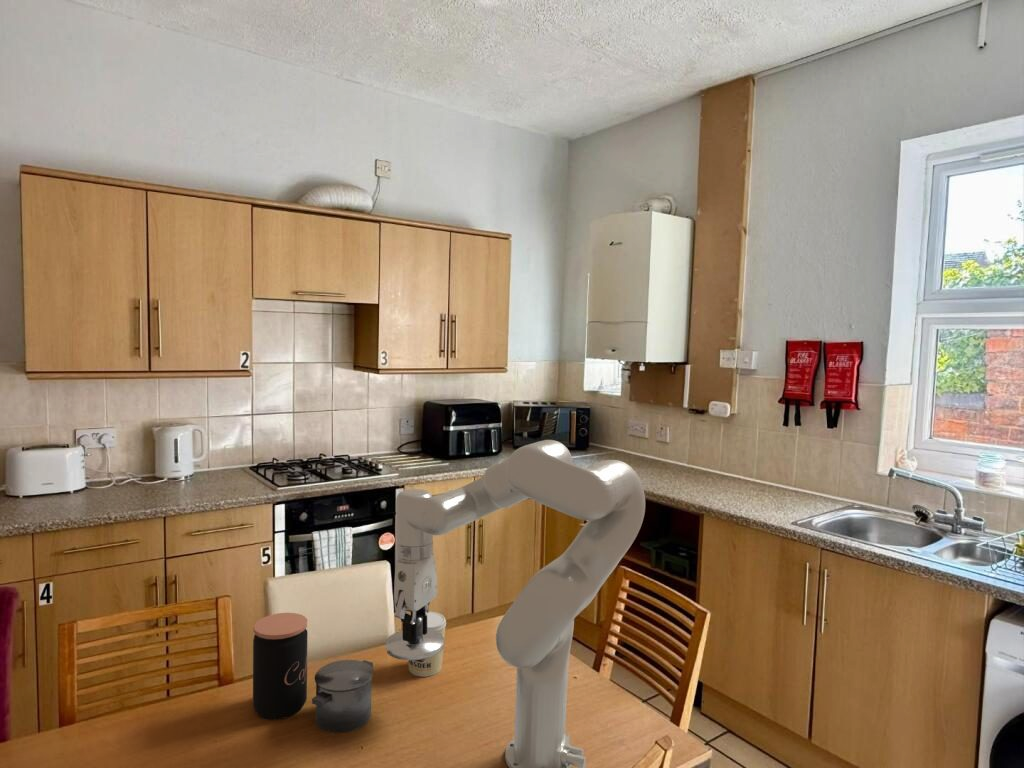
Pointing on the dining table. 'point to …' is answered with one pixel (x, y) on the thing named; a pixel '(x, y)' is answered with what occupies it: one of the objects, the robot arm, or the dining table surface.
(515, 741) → the robot arm
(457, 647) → the dining table surface
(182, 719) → the dining table surface
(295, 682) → the coffee jar
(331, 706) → the pot
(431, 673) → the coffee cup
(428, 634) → the lid
